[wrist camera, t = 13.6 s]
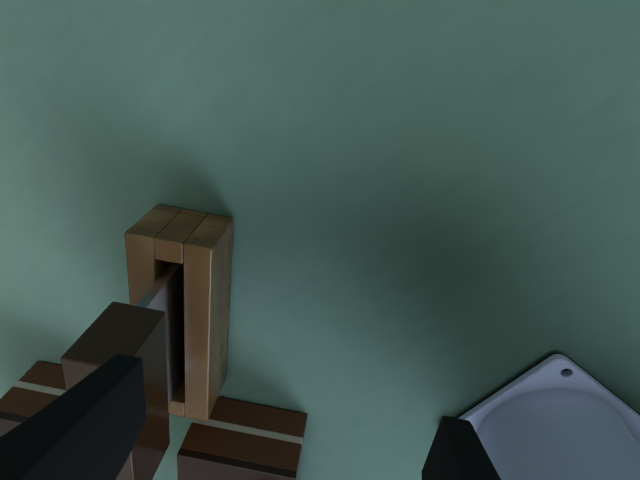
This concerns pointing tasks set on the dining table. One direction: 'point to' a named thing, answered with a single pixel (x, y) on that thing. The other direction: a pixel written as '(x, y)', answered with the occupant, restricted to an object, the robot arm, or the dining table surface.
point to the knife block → (189, 293)
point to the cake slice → (31, 394)
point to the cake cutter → (157, 357)
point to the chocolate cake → (242, 443)
